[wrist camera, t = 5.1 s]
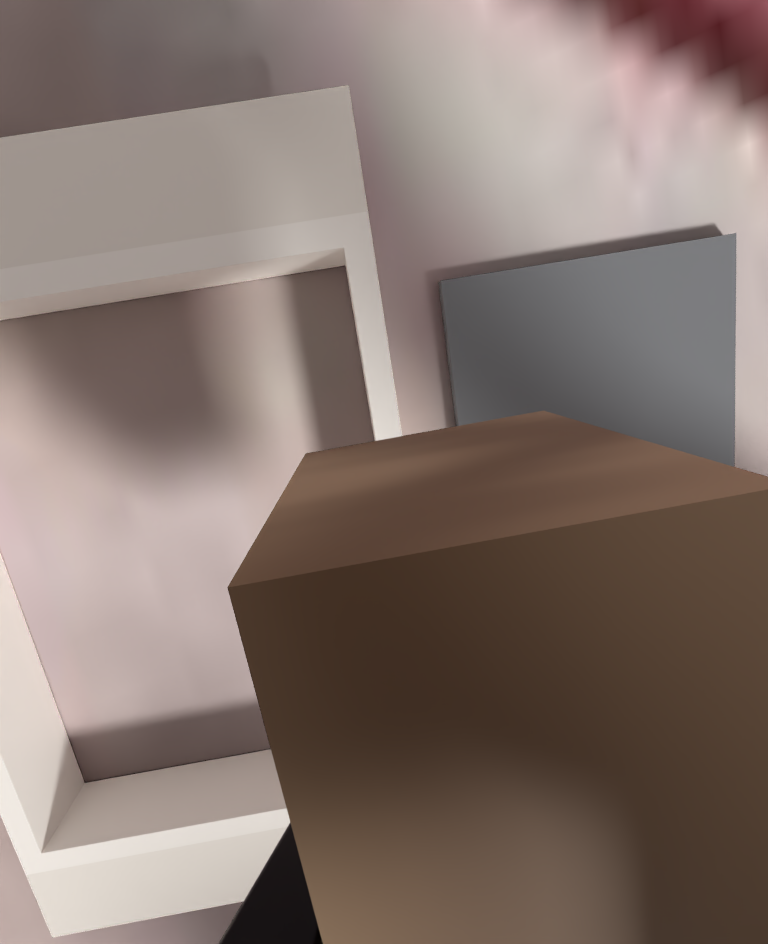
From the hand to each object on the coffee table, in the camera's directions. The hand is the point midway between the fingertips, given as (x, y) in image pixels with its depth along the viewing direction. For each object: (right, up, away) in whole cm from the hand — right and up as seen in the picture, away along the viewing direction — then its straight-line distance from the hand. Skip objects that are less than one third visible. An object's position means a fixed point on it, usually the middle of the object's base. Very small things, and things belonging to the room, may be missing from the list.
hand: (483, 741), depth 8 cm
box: (0, 0, +1) cm, 1 cm away
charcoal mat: (+6, +4, +11) cm, 13 cm away
